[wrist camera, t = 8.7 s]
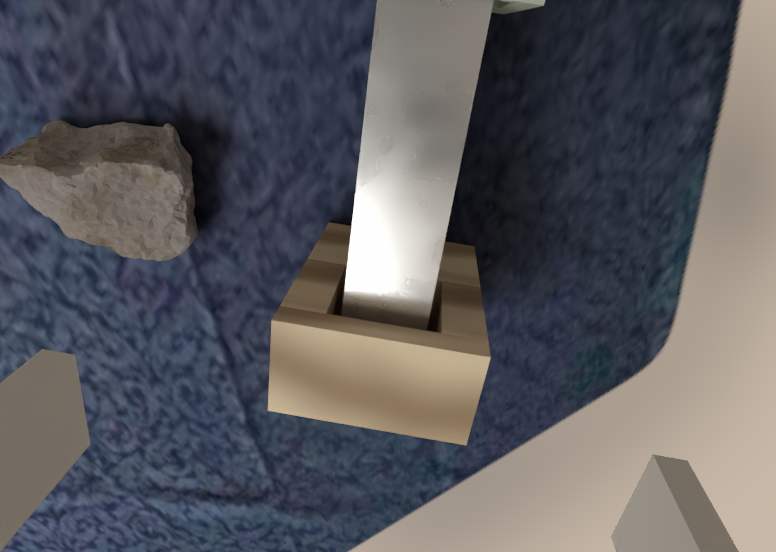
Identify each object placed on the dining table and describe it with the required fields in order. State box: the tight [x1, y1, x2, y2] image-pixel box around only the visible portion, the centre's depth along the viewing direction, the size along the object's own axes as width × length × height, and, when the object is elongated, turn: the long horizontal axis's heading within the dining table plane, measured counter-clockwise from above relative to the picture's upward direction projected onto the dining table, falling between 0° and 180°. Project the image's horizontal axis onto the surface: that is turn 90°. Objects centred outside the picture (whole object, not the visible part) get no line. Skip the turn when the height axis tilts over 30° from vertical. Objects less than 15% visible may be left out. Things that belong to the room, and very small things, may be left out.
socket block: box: [268, 222, 491, 445], centre depth 27 cm, size 5×9×12 cm, turn 82°
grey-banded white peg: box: [342, 0, 494, 331], centre depth 21 cm, size 18×4×4 cm, turn 172°
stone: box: [0, 120, 198, 261], centre depth 29 cm, size 8×10×6 cm
